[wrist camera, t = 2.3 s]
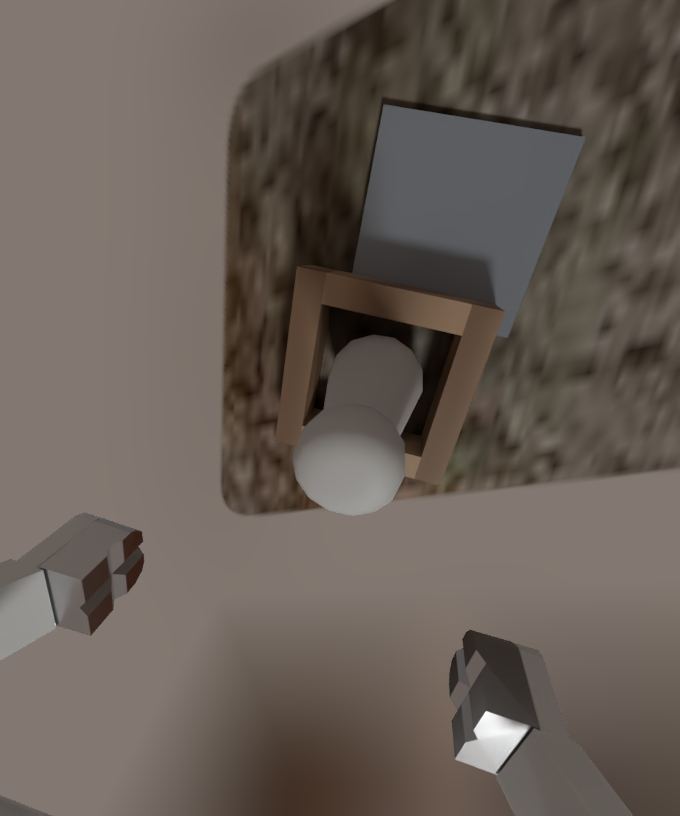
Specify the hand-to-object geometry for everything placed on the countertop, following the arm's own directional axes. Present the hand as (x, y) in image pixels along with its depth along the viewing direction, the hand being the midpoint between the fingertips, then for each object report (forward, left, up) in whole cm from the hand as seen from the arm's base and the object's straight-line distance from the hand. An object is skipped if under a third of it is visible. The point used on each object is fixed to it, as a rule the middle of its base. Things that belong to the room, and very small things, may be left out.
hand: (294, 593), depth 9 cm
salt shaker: (0, 0, -18) cm, 18 cm away
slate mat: (-2, -9, -18) cm, 20 cm away
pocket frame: (0, 0, -18) cm, 18 cm away
